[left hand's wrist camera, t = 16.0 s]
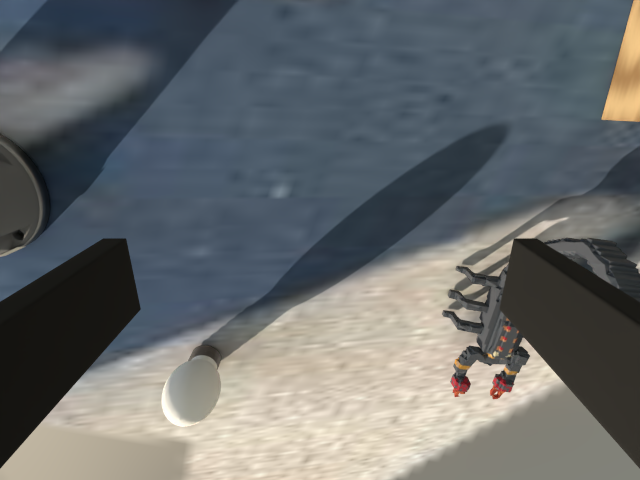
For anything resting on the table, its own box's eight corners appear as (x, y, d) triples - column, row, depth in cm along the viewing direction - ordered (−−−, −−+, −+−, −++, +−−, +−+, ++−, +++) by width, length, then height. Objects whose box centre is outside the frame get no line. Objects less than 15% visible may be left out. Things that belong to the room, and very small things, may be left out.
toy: (583, 213, 43) (756, 283, 26) (511, 384, 53) (604, 519, 35) (477, 198, 43) (583, 260, 25) (423, 374, 52) (474, 507, 35)
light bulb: (175, 359, 51) (139, 423, 41) (199, 327, 49) (167, 386, 39) (215, 382, 52) (190, 449, 42) (240, 352, 50) (220, 415, 40)
